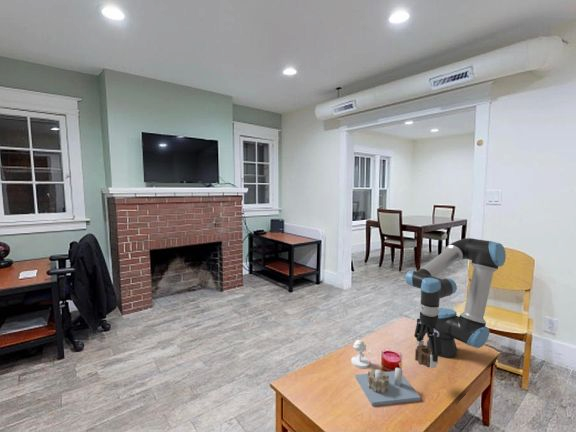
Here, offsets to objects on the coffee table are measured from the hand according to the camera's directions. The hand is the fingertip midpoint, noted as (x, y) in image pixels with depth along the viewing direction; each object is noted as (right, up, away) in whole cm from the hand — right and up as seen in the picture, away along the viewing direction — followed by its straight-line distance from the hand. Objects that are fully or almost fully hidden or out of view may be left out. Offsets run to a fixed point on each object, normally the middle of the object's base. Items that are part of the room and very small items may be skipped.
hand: (426, 360), depth 133 cm
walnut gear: (0, 0, 0) cm, 0 cm away
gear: (-22, -11, -1) cm, 25 cm away
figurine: (-25, -10, +18) cm, 33 cm away
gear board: (-18, -12, -1) cm, 22 cm away
